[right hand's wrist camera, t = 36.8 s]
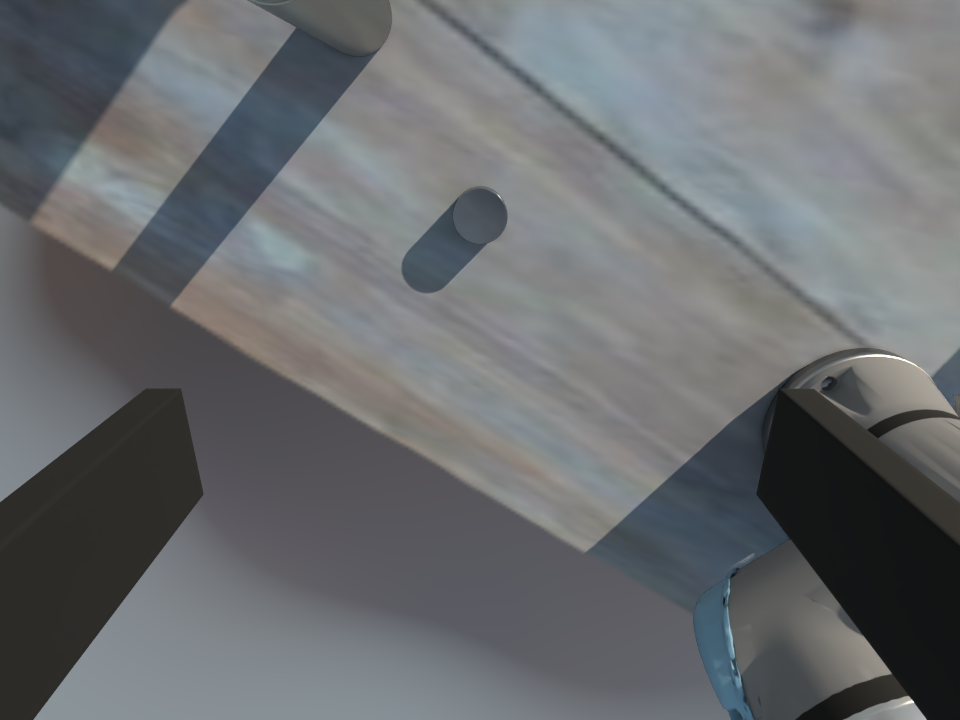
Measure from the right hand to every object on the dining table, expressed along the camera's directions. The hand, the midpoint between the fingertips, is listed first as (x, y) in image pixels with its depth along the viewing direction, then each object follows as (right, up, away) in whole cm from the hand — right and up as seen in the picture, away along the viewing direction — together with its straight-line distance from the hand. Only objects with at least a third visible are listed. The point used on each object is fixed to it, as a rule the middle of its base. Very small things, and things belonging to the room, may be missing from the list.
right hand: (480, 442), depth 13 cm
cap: (0, +13, +33) cm, 36 cm away
